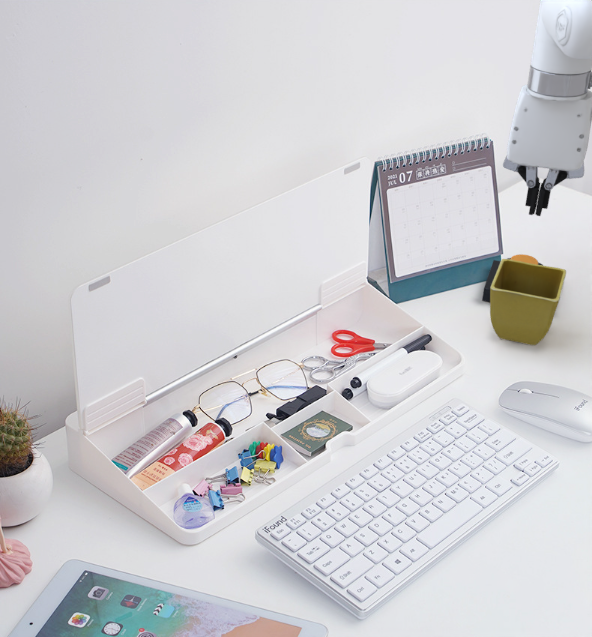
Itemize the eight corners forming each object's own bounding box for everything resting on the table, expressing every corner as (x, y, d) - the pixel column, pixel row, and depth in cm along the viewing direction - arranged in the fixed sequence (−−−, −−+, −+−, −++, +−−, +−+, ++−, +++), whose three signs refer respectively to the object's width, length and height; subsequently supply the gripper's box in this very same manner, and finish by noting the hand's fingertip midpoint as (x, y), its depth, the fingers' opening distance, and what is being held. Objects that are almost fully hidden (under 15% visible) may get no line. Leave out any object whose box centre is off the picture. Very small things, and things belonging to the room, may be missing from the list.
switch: (554, 283, 122) (558, 260, 120) (547, 313, 115) (552, 289, 113) (491, 271, 125) (495, 249, 123) (481, 300, 118) (485, 277, 116)
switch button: (537, 267, 119) (539, 256, 118) (534, 280, 116) (536, 269, 115) (510, 262, 120) (512, 252, 119) (506, 275, 117) (508, 264, 116)
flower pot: (480, 343, 109) (489, 287, 104) (493, 310, 116) (502, 256, 111) (546, 358, 106) (558, 301, 101) (555, 323, 113) (567, 269, 108)
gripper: (620, 78, 103) (592, 208, 113) (503, 67, 107) (486, 193, 118) (618, 95, 97) (589, 231, 107) (494, 83, 102) (477, 214, 112)
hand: (535, 211), depth 112 cm, fingers closed
